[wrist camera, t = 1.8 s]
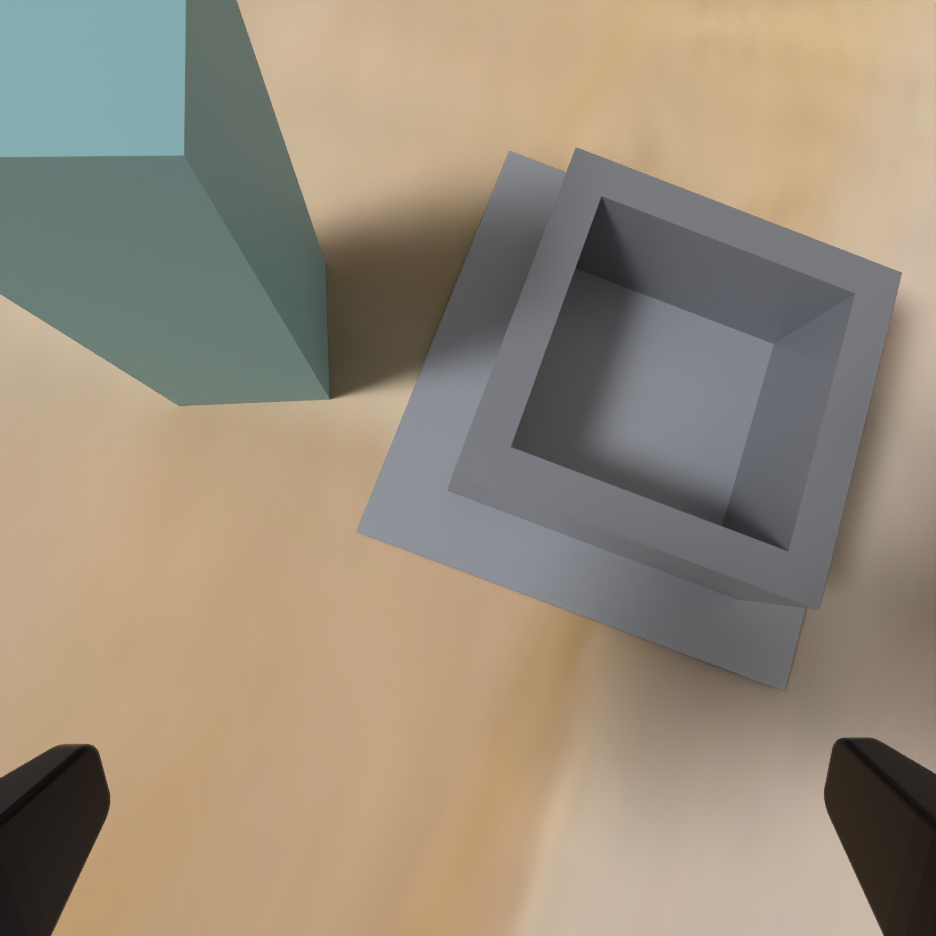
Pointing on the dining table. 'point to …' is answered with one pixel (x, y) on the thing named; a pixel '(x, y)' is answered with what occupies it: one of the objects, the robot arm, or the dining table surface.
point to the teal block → (157, 199)
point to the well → (641, 412)
